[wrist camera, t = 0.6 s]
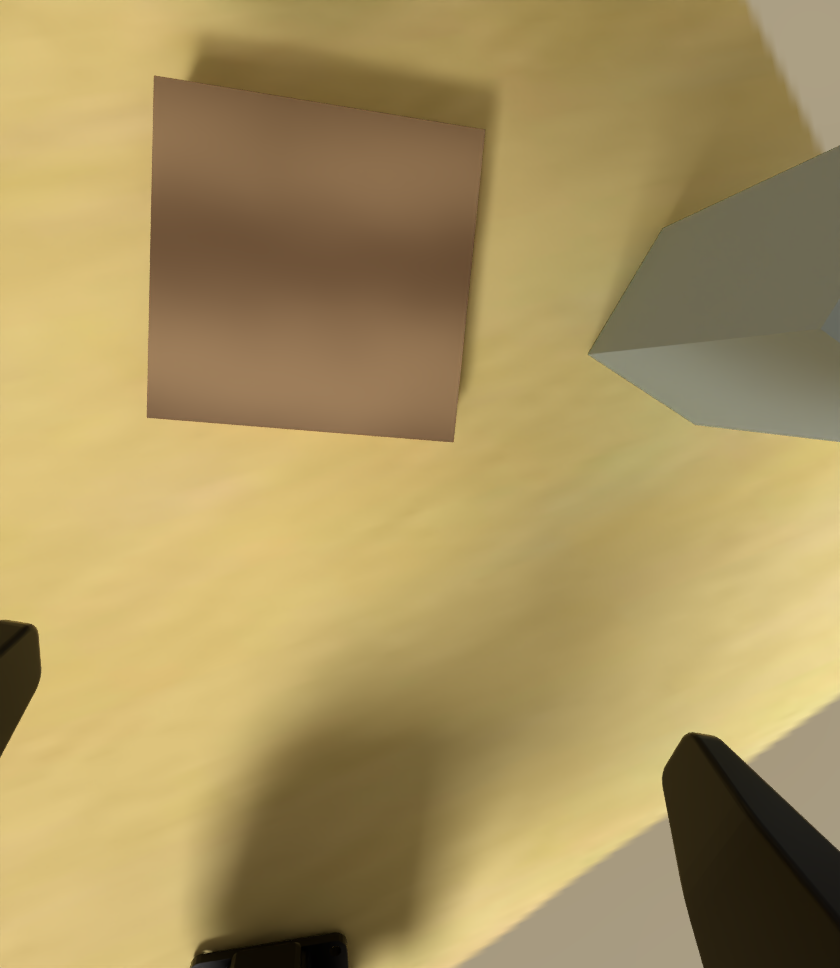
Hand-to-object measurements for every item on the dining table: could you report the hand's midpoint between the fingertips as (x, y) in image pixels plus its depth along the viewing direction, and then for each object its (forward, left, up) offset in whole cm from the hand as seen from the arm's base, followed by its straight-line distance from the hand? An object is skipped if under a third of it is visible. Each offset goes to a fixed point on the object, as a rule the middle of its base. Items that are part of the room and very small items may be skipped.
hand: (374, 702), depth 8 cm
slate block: (+6, -13, -15) cm, 21 cm away
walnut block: (+8, +1, -16) cm, 17 cm away
